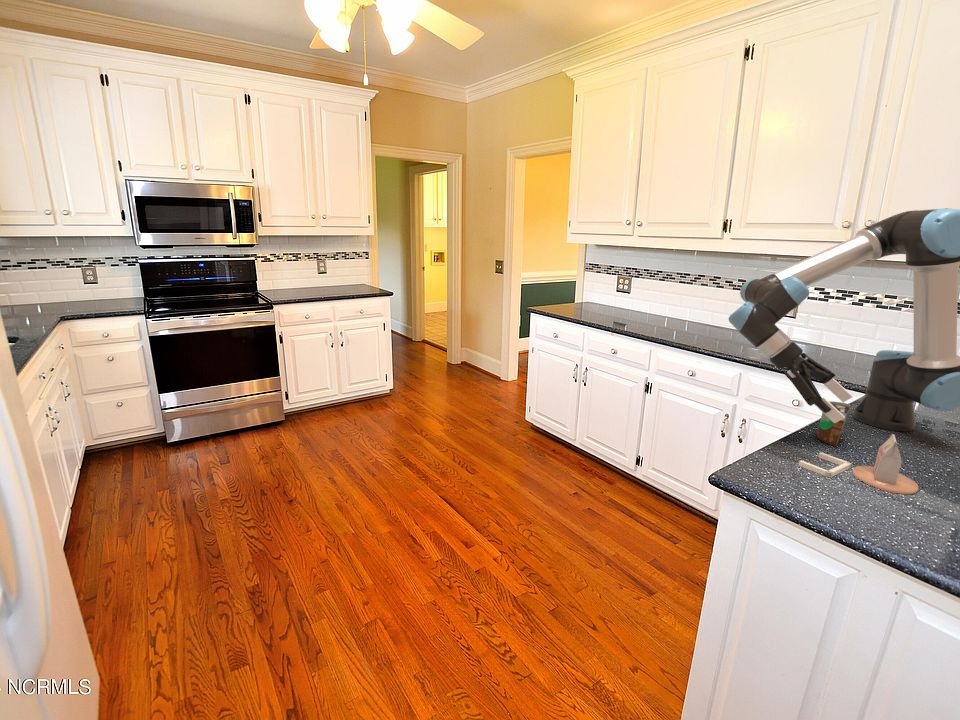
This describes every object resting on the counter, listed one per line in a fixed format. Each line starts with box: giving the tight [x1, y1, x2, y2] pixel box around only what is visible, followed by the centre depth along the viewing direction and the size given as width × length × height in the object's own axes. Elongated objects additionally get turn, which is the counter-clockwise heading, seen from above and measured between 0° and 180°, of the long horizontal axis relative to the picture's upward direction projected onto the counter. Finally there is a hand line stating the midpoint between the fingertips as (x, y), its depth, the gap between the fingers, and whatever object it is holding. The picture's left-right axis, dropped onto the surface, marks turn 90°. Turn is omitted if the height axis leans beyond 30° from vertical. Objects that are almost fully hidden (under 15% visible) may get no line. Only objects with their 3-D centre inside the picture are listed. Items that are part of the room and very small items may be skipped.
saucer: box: [852, 465, 919, 495], centre depth 114 cm, size 12×12×1 cm
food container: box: [816, 400, 852, 447], centre depth 136 cm, size 12×6×10 cm, turn 138°
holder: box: [797, 451, 853, 479], centre depth 120 cm, size 11×7×1 cm, turn 121°
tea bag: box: [873, 433, 903, 485], centre depth 112 cm, size 4×7×10 cm, turn 144°
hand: (844, 409), depth 125 cm, fingers open, 13 cm apart
